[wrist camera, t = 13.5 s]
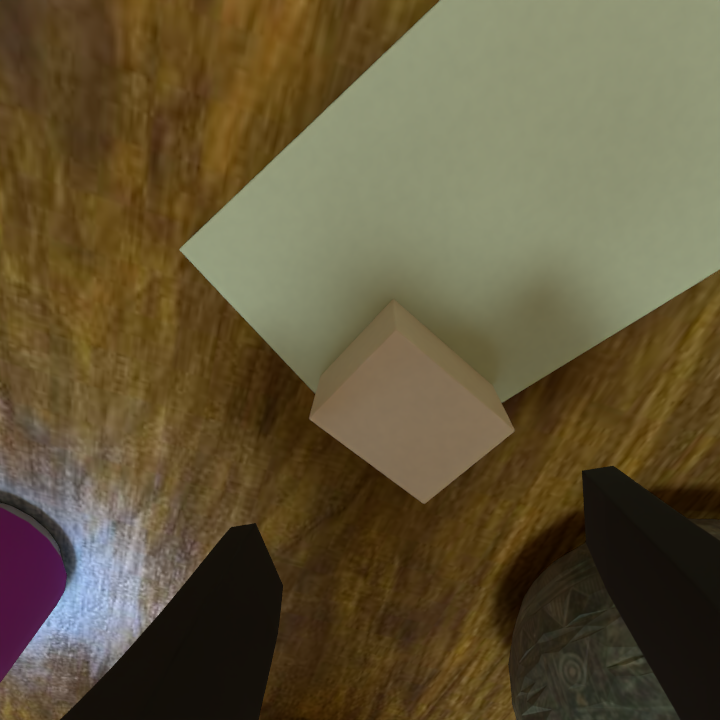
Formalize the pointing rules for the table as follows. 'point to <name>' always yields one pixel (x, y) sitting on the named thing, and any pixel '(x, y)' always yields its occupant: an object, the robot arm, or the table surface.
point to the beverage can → (25, 581)
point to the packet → (409, 405)
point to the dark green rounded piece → (581, 650)
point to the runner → (490, 188)
